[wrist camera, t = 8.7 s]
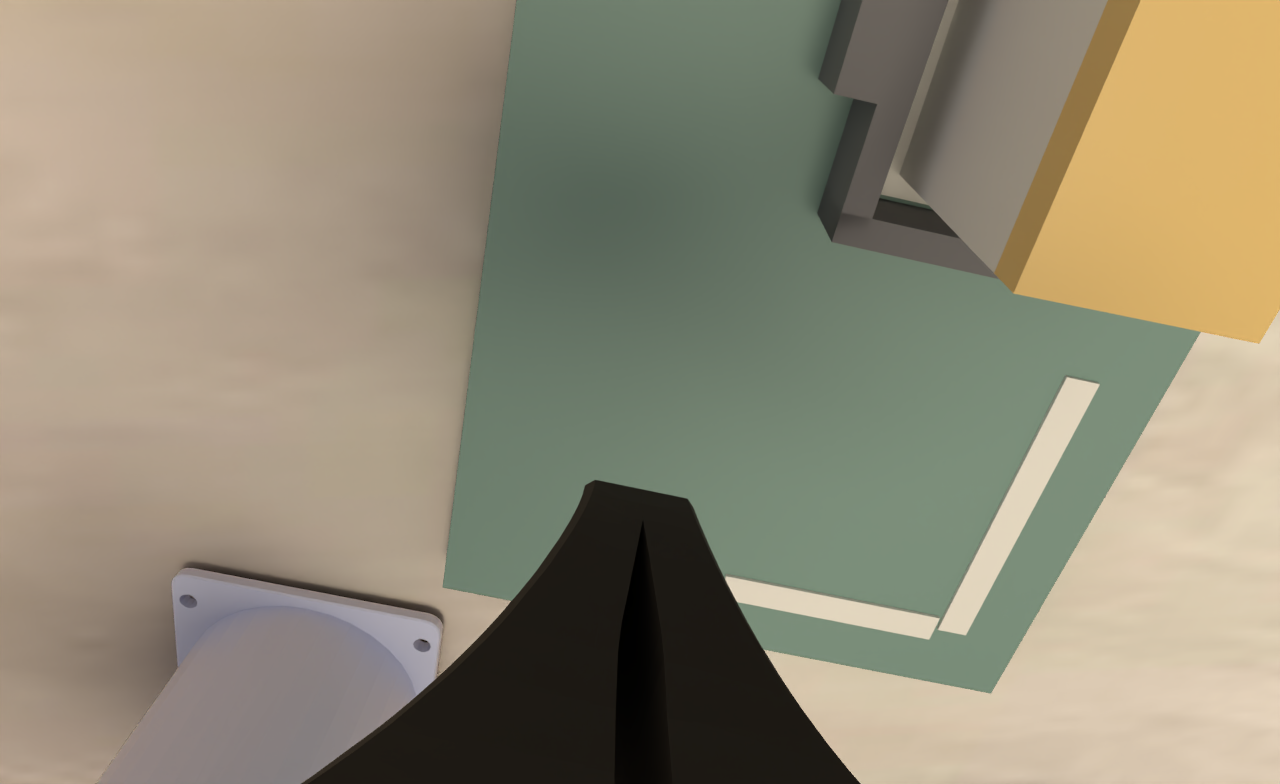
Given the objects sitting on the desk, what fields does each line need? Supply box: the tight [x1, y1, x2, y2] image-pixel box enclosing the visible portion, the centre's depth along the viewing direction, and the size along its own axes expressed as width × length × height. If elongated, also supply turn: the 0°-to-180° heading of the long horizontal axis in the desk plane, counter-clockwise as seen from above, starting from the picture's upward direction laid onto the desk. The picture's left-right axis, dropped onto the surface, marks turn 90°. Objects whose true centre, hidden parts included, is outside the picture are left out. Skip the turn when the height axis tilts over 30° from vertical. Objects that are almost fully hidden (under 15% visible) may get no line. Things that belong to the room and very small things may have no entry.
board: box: [443, 0, 1200, 693], centre depth 18 cm, size 22×16×3 cm
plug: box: [899, 0, 1280, 343], centre depth 13 cm, size 5×4×7 cm
